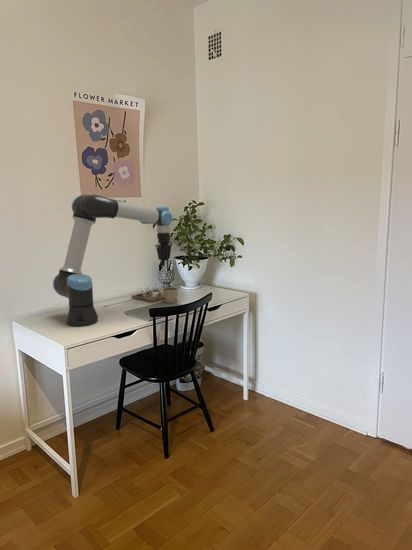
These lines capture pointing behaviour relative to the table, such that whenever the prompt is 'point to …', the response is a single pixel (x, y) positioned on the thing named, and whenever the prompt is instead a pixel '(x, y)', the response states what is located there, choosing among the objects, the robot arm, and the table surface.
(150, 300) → the tray
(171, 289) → the flower pot
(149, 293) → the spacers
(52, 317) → the table surface
